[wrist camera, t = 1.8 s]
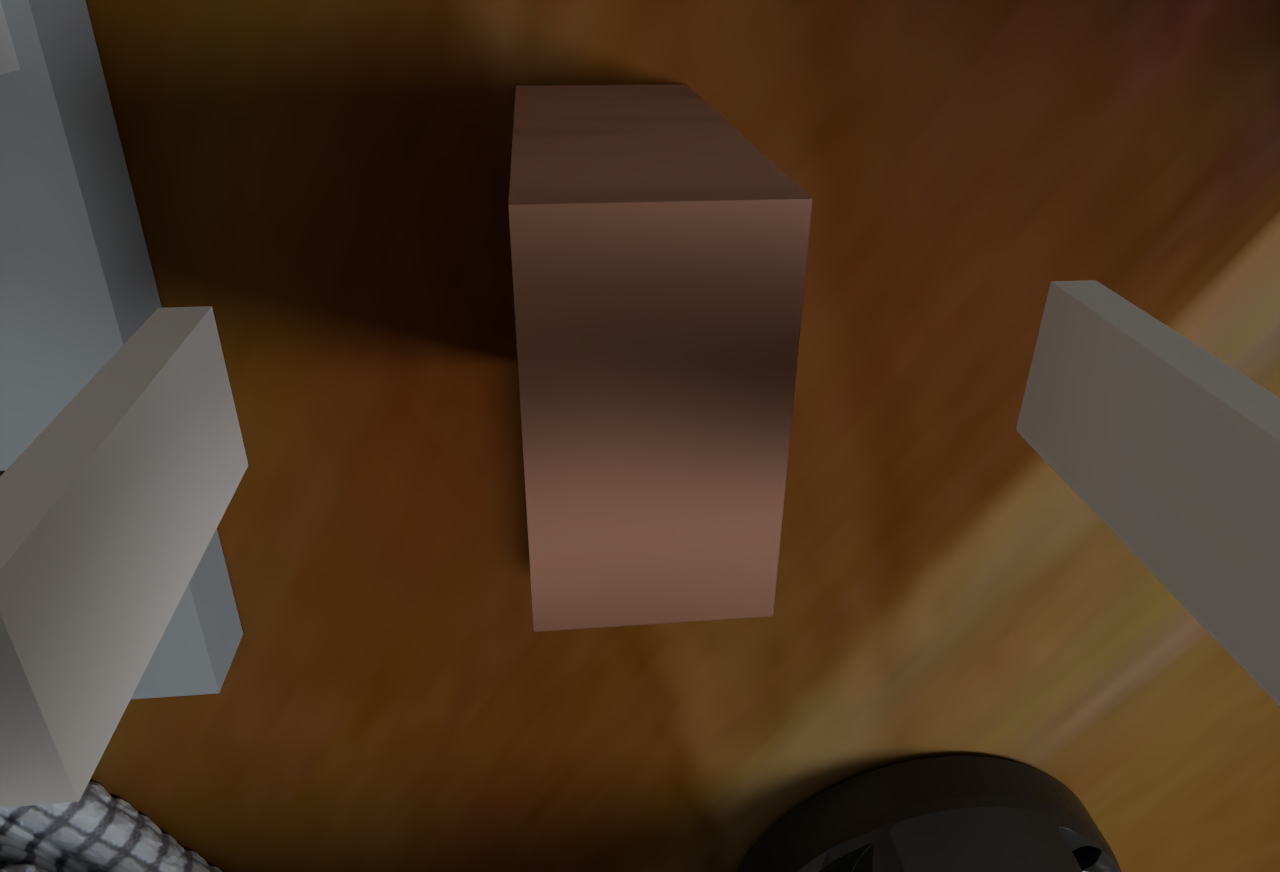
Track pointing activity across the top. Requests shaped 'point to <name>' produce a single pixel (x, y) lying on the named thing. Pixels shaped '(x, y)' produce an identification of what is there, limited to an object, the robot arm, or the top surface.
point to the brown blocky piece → (651, 354)
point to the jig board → (81, 284)
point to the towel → (89, 838)
